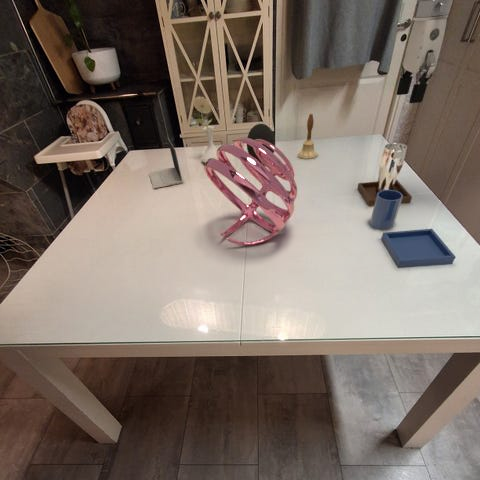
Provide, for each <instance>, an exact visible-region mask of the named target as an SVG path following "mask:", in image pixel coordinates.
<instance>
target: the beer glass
mask: <svg viewBox="0 0 480 480" xmlns="http://www.w3.org/2000/svg"><path fill="white" fill-rule="evenodd" d="M383 146H384V147H383V150H382V153H381V156H380V160H379V166H378V176H377V177H378V178H377V182H378V183H377V186H376V189H375V191H374V195H375V196H377V193H378V192H380V191H383V190H393V187H394V183H395V181H396V180H398V177H399V175H400V172H401V171H402V168H403V165H404V162H405V158H406V155H407V149H408V145H407V144H405V143H401V142H391V143H386V144H385V145H383Z"/></svg>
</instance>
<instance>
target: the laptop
mask: <svg viewBox="0 0 480 480" xmlns="http://www.w3.org/2000/svg"><path fill="white" fill-rule="evenodd" d="M167 142H168V145H169V146H168V147H169V150H170V154H171V158H172V162H173V167H170V168H166V169H165V168H164V169H160V170H155V171H152V172H148V175H149V179H150V182H151V185H152V187H153V189H159V188H164V187H169V186H175V185H179V184H183V178H182V173H181V168H180V165H179V160H178V155H177V151H176V149H175V147H174V145H173V144H172V141H171V140H170V138H169V137H167Z"/></svg>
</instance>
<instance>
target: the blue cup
mask: <svg viewBox="0 0 480 480" xmlns="http://www.w3.org/2000/svg"><path fill="white" fill-rule="evenodd" d="M402 198H403V195H402V194H401V193H400V192H398V191H394V190H383V191H380V192H378V193H377V197H376V201H375V205H374V206H373V207H372V208H373V209H372V213H371V217H370V221H369V224H370V226H371V227H372V228H375V229H378V230H389V229H391V228H393V227H394V226H395V223H396V219H397V217H398V213H399V209H400V207H401V205H402V204H401V201H402Z"/></svg>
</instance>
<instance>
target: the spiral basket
mask: <svg viewBox="0 0 480 480" xmlns="http://www.w3.org/2000/svg"><path fill="white" fill-rule="evenodd" d="M243 143H244V144H246V145H247V144H248V145H250V146H252V147H253V149H254V151H255V153H256V155H257V156H258V158H259V159H260V160H261V161H262V163H260V162H259V161H258V160H257V159H255V158H254V157H253V156H251V155H250V154H249V153H248V151H246V150H245V149H244V146H243V145H244V144H243ZM262 144H264V145H266V146H268V147H270V148H271V149H272V150H274V154H273V153H272V152H271V151H270V150H269V149H267V148H266V147H265V146H263V145H262ZM217 149H218V150H217V158H218V160H217V159H214V158H210V159H209V160H208V161H207V162H206V163H204V167H203V170H204V172H205V174H206V176H207V177H208V178H209V180H210V181H211V183H212V184H213V185H214V186H215V187H216V188H217V189H218V191H219V192H220V193H221V194H222V195H223V196H224V197H225V198H226V199H227V200H228V201H229V202H231V204H232V205H234V206H235V207H236V208H237V209H238V210H239V211H240V212H241V215H240V216H239V218H237V219H236V221H235V222H234V223H233V224H231V226H230V227H228V228H227V229H226V230H224V231H223V232H221V233H219V236H220V237H223V236H228V235H230V234H232V233H234V232H235V231H237V230H238V229H239V228H240V227H242V226H243V225H244V224H245V223H246V222H247V221H248V220H251V221H253V222H254V223H256V224H257V225H258V226H261V227H262V228H263V229H265V230H267V231H269V232H271V233H270V234H268V235H267V236H265V237H263V238H260V239H257V240H254V241H239V240H235V239H233V238H229V237H226V238H225V240H226V241H227V242H229V243H232V244H235V245H240V246H254V245H258V244H262V243H264V242H266V241H268V240H270V239H272V238H274V236H276V235H277V234H279V233H281V231H283V229H284V227H285V225H286V224H287V222H288V221H289V219H290V218H291V217H292V216H293V214H294V210H295V200H296V199H297V196H298V185H297V182H296V180H295V169H294V168H293V164H292V163H291V161H290V160H289V158H288V157H287V156H286V154H284V153H283V152H282V150H280V149H279V148H278V147H277V146H276V145H275V146H274V145H273V144H271V143H269V142H268V141H265V140H262V139H255V140H253V139H250V138H247V137H238V138H236V139H235V140H234V141H233V144H232V143H224V144H222V145H221V146H219V147H217ZM226 153H228V154H230V155H232V156H234V157H235V158H237V159H238V160H239V161H240V162H241V164H242V165H243V166H244V168H245V169H247V171H248V172H249V173H250V174H251V176H253V178H255V180H257V181H258V183H260V184H261V188H260V189H258V188H257V187H256V186H255V185H254V184H253V183H251V182H250V180H248V179H247V178H246V177H245V176H243V175H242V174H241V173H239V172H238V171H237V169H236V168H235V167H234V166H233V165H232V163H231V161H230V160H229V158H228V156H227V154H226ZM275 153H276V154H277V155H278V156H279V157H280V158H281V159H282V160H283V162H282V161H281V159H280V158H278V156H277V155H276V154H275ZM217 173H219V174H220V175H221V176H223V177H225V178H226V179H227V180H229V181H230V182H231V183H232V184H233V185H235V186H236V187H238V188H239V189H240V190H241V191H242V192H243V193H245V194H246V195H247V196H248V197H249V198H250V199H251V202H250V203H249V204H246V203H245V202H244V201H242V199H241V198H240V197H238V196H237V195H236V194H235V193H234V192H233V191H232V190H231V189H230V188H229V187H228V186H227V184H225V182H224V181H223V180H222V179H221V178H220V177H219V176H218V174H217ZM277 177H278V178H280V179H282V180H284V181H286V182H288V183H289V185H290V190H288V189H286V187H285V186H284V185H283V184H282V183H281V181H280V180H279V179H278V178H277ZM268 192H271V193H273V194H274V195H275V196H277V197H279V198H280V199H281V200H282V202H283V203H284V205H285V207H286V209H285V208H282V207H280V206H278V205H276V204H275V203H273V202H271V201H270V200H269V199H268V197H266V196H267V193H268ZM258 208H260V209H261V210H262V211H263V212H264V213H265V214H266V215H267V216H268V218H270V220H271V221H272V222H270V221H269V220H268V219H265V218H264V217H263V216H261V214H258V212H257V209H258Z"/></svg>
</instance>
